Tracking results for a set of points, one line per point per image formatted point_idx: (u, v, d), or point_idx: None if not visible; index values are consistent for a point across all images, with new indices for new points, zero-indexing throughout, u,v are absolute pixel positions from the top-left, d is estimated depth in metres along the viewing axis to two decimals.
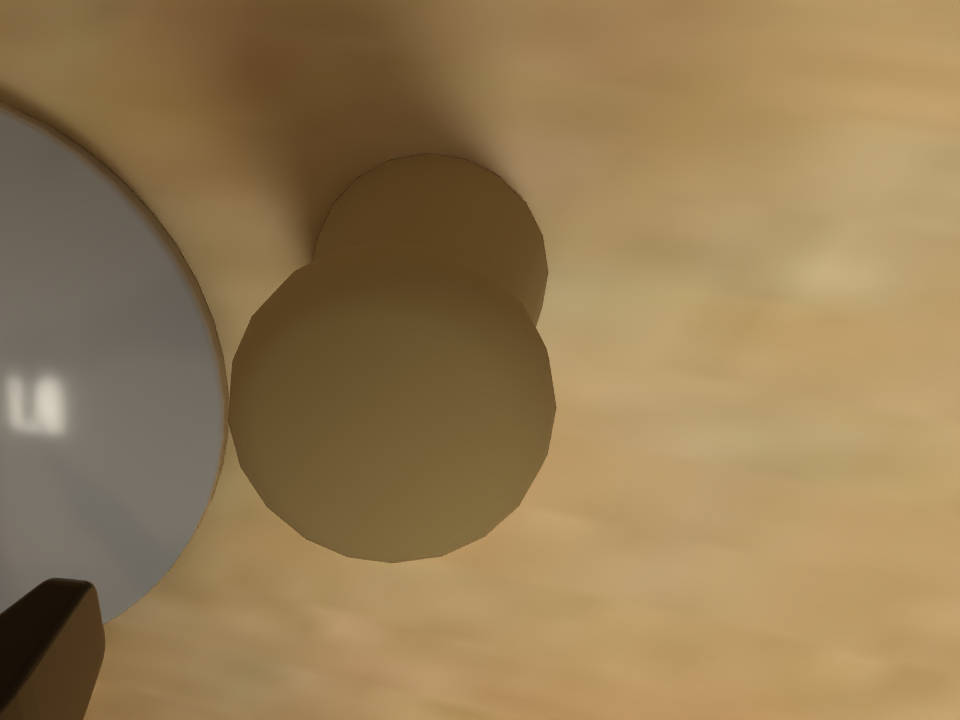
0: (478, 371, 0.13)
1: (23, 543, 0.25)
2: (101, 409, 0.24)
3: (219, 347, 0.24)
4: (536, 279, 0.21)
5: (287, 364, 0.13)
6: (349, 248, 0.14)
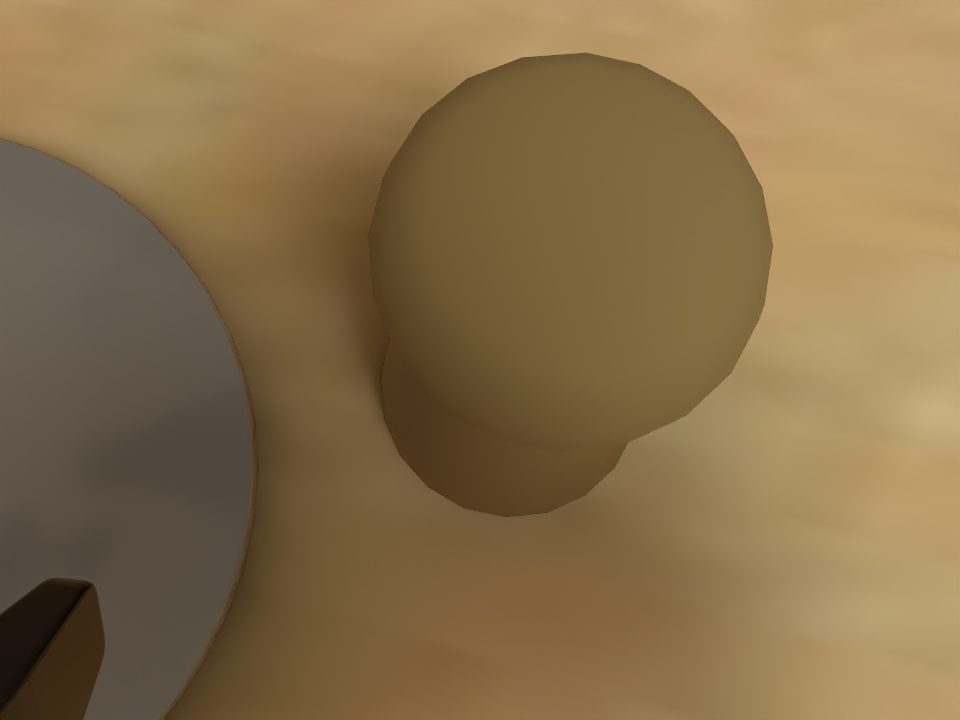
0: (704, 135, 0.11)
1: None
2: (98, 508, 0.19)
3: (256, 454, 0.20)
4: None
5: (476, 113, 0.11)
6: None
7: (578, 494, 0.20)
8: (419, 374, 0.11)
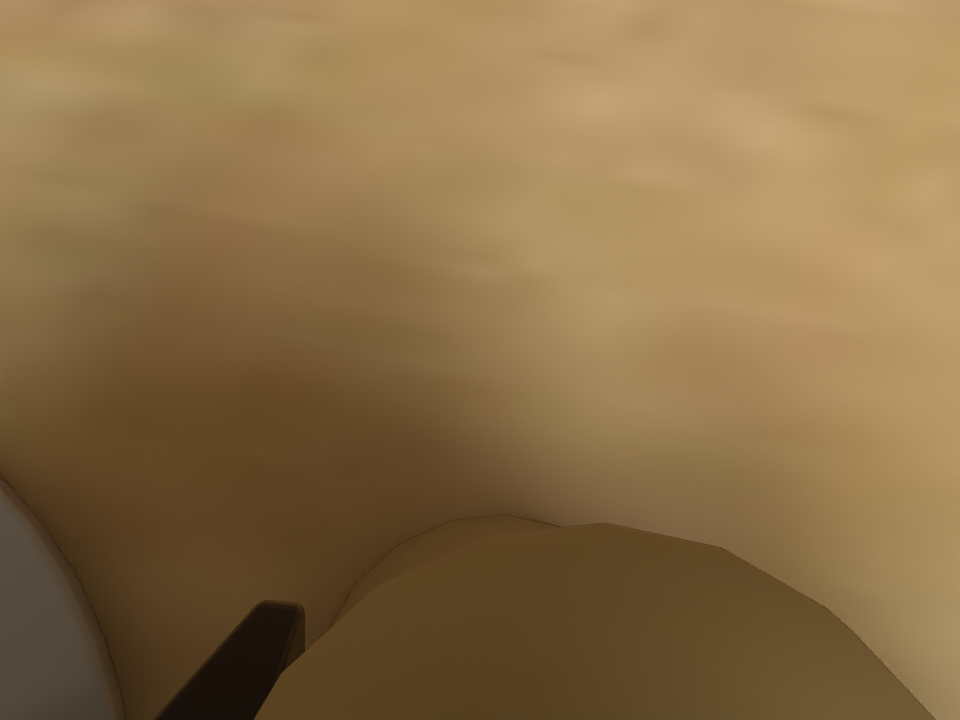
0: None
1: None
2: None
3: None
4: None
5: None
6: None
7: None
8: None
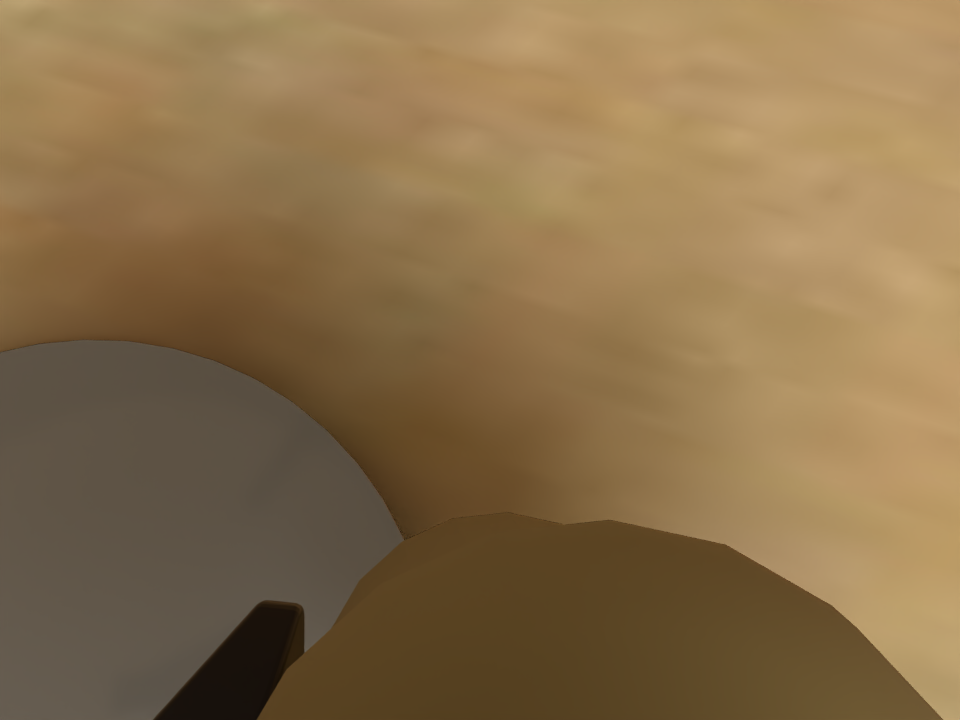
0: None
1: None
2: None
3: None
4: None
5: None
6: None
7: None
8: None
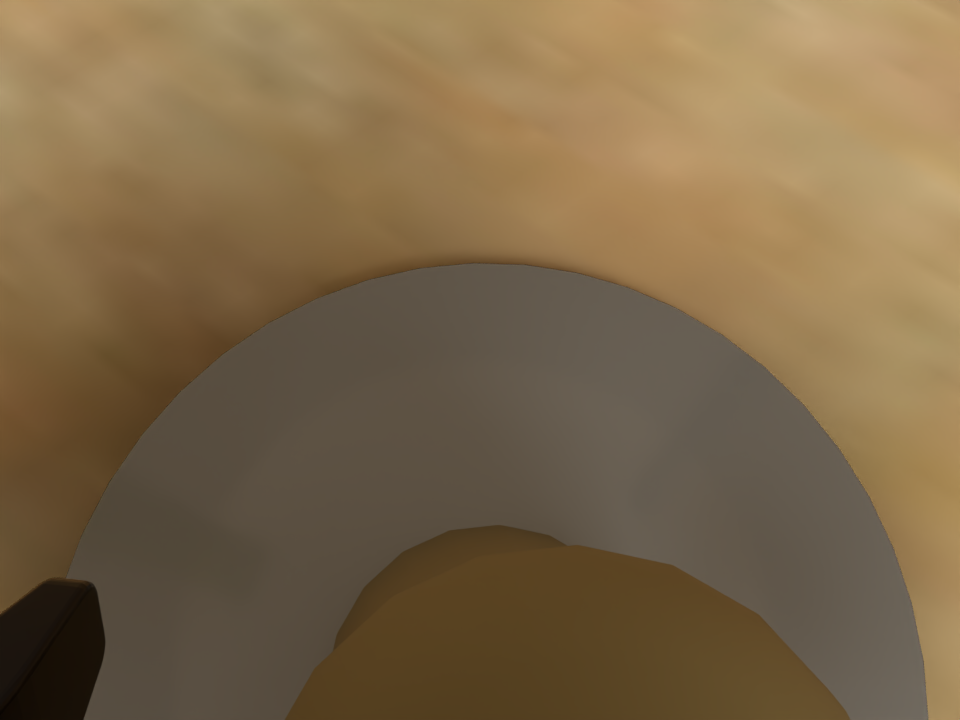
0: None
1: None
2: None
3: None
4: None
5: None
6: None
7: None
8: None
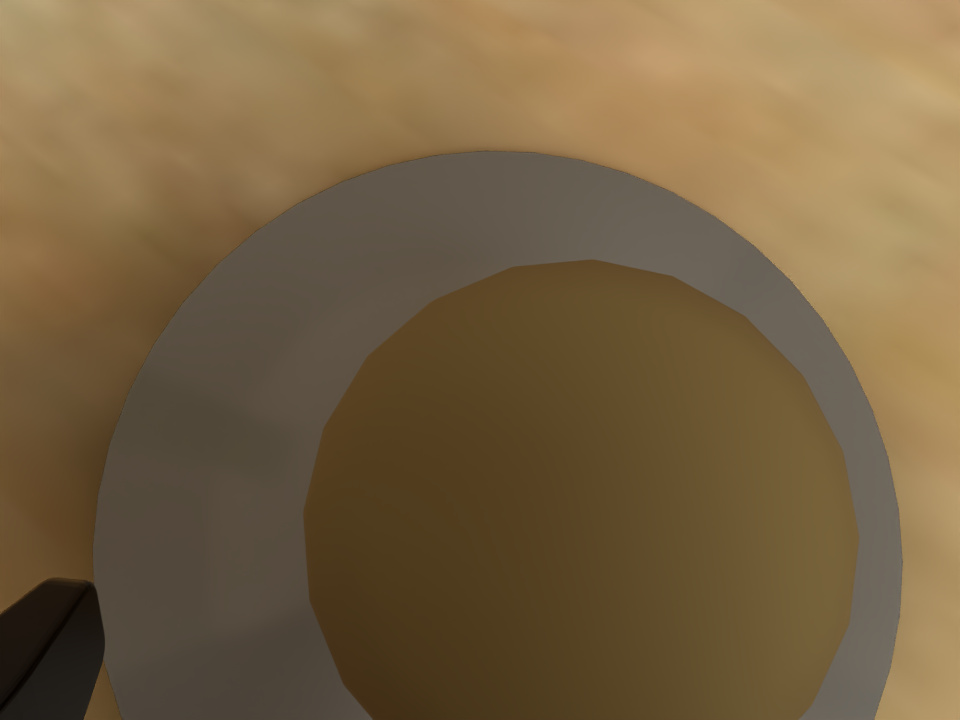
0: (769, 403, 0.08)
1: None
2: None
3: None
4: None
5: (447, 374, 0.08)
6: None
7: None
8: (371, 716, 0.08)
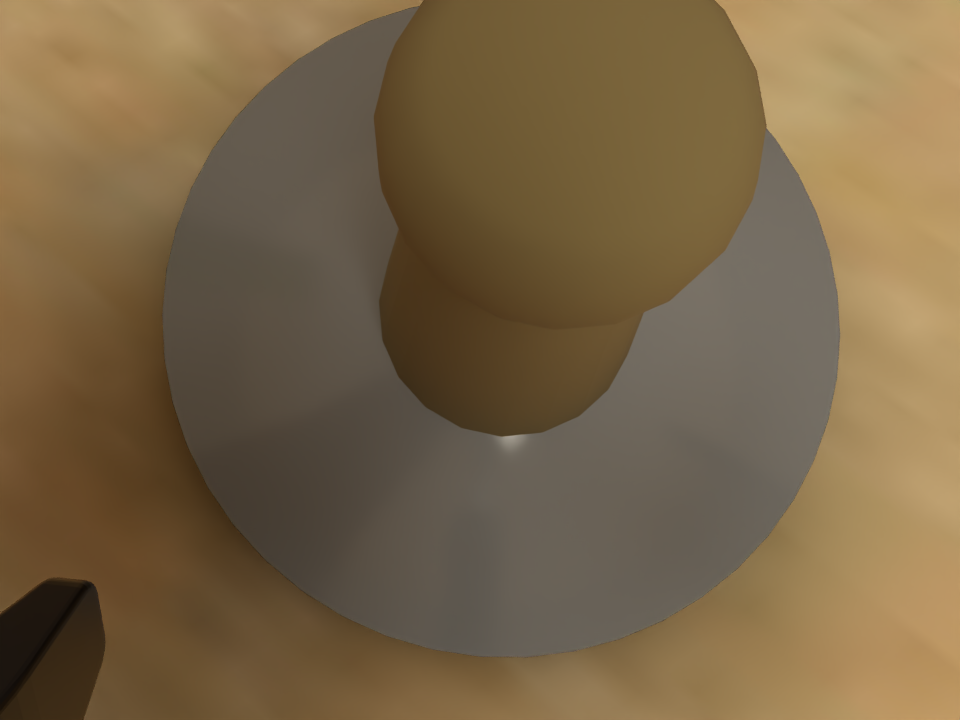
0: (700, 13, 0.11)
1: (518, 510, 0.21)
2: (694, 405, 0.21)
3: None
4: None
5: None
6: None
7: (573, 413, 0.20)
8: (423, 249, 0.12)
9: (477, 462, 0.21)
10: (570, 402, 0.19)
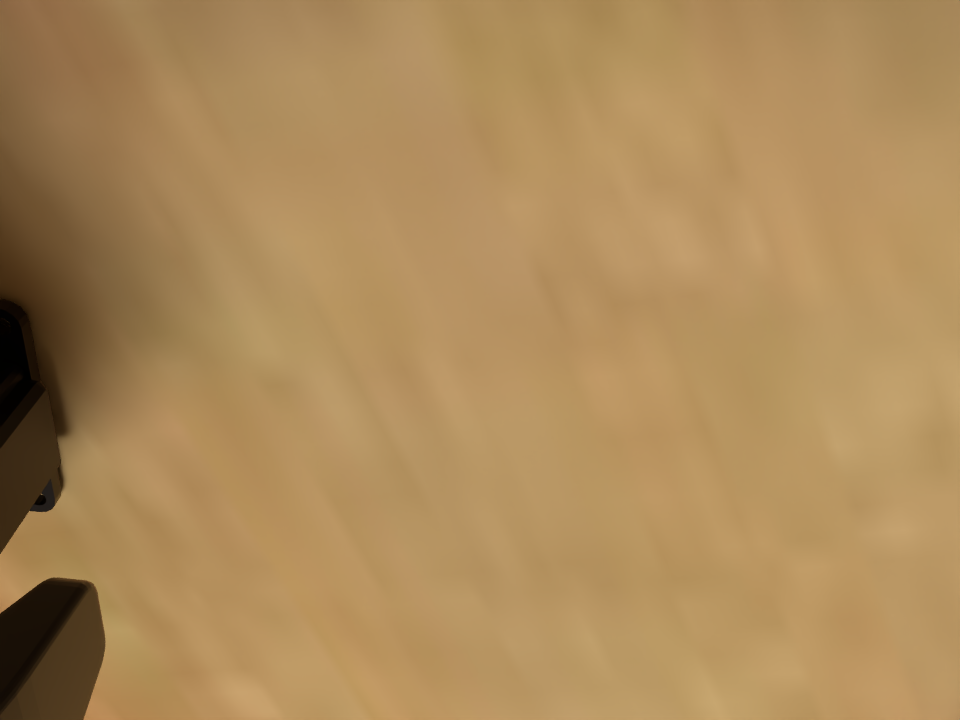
0: None
1: None
2: None
3: None
4: None
5: None
6: None
7: None
8: None
9: None
10: None
